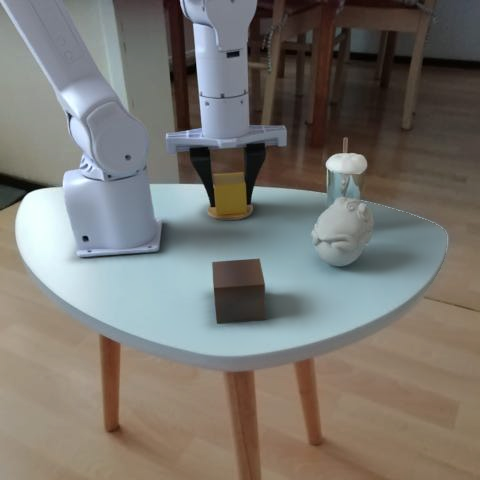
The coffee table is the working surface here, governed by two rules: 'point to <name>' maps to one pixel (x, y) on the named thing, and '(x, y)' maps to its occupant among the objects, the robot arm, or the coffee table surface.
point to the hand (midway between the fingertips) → (230, 203)
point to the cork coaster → (229, 216)
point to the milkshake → (345, 175)
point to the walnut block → (238, 290)
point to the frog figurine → (343, 231)
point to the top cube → (230, 193)
